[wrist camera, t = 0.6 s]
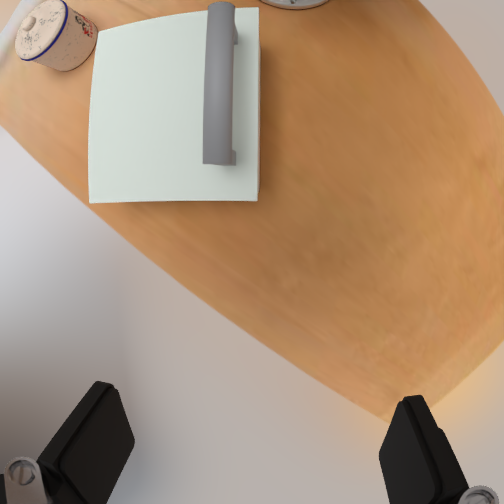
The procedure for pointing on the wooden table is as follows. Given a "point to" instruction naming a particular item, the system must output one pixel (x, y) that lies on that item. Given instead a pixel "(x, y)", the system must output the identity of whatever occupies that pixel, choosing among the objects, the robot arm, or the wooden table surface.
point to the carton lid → (176, 108)
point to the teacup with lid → (55, 36)
